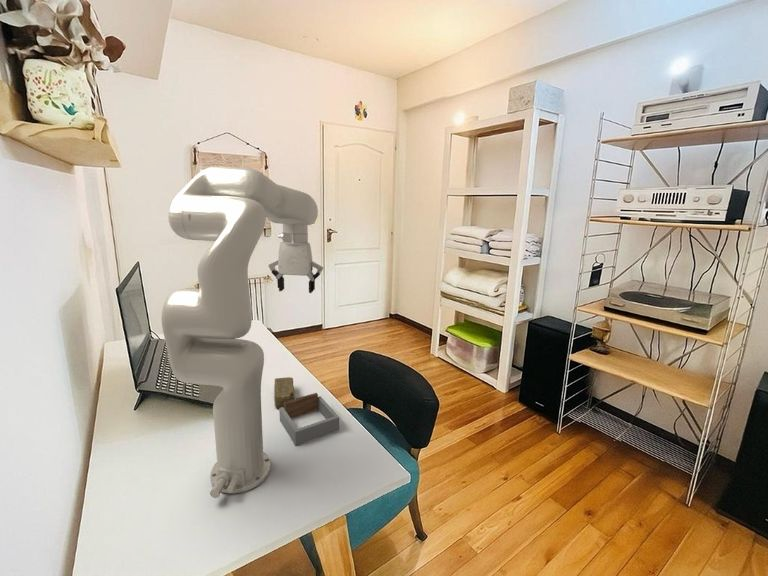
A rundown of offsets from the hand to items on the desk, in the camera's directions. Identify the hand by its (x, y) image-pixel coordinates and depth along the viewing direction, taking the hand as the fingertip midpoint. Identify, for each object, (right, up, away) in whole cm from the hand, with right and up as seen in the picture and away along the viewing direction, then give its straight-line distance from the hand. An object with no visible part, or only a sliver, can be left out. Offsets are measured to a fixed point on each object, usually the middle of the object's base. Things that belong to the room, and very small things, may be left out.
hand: (296, 291), depth 116 cm
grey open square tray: (+8, -36, -18) cm, 42 cm away
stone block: (-2, -33, -6) cm, 34 cm away
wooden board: (+5, -35, -14) cm, 38 cm away
